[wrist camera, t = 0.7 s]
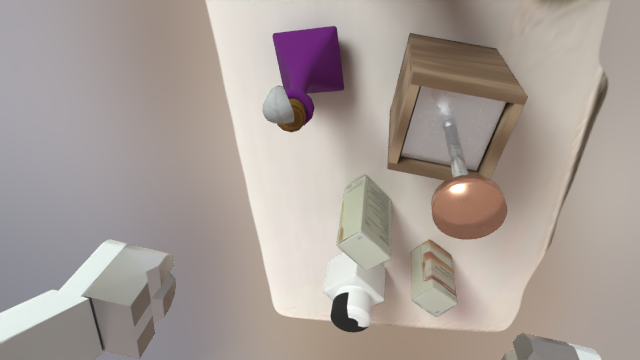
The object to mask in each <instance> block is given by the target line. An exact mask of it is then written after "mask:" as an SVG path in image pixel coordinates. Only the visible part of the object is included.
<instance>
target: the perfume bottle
mask: <svg viewBox="0 0 640 360" xmlns="http://www.w3.org/2000/svg"><path fill="white" fill-rule="evenodd" d="M273 41H274V46H275V50H276V55H277V60H278V64H279V69H280V74H281V79H282V83H283V87H282V86H276V87H275V88H273V89H271V91H270V92H269V94H268V96H267V97H266V99H265V102H264V104H263V114H264V116H265V118H266V119H267V120H268V121H270V122H273V123H277V125H278V126H279V127H280V128H281V129H283V130H284V131H288V132H294V131H298V130H300V128H301V127H302V126H303V125H305V124H306V123H307V122H308V121H309V120H310V119H311V118H312V116H313V112H314V105H313V102H312V99H311V98H310V97H309V96H308V95H307V93H317V92H329V91H340V90H344V83H343V75H342V67H341V59H340V51H339V43H338V35H337V28H336V27H335V26H331V27H323V28H314V29H306V30H298V31H289V32H281V33H274V34H273Z"/></svg>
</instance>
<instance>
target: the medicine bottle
mask: <svg viewBox="0 0 640 360" xmlns="http://www.w3.org/2000/svg"><path fill="white" fill-rule="evenodd" d="M385 270H386V269H385V267H384V266H383V265H382V264H381V265H379V266H377V267H375V268H372V269H370V270H368V271H365V270H364V269H363V268H361V267H360V266H359V265H358V264H357V263H355V262H354V261H353V260H352V259H351V258H350V257H348V256H347V255H346V254H345V253H344V252H343V253H342V254H340V255H338V256H336V257H334V258H333V259H331V260H329V262H328V268H327V273H326V278H325V283H324V288H323V293H324V294H326V295H327V296H328V297H329V298H330V299H332V300H333V304H332V310H331V320H332V322H333V323H334V324H335V326H336V327H338V328H339V329H341V330H344V331H347V332H359V331H363V330H365V329H366V328H367V327H368V326H369V325H370V323H371V311H372V306H374V305H376V304H378V303H381V302H383V301H384V296H385Z"/></svg>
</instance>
